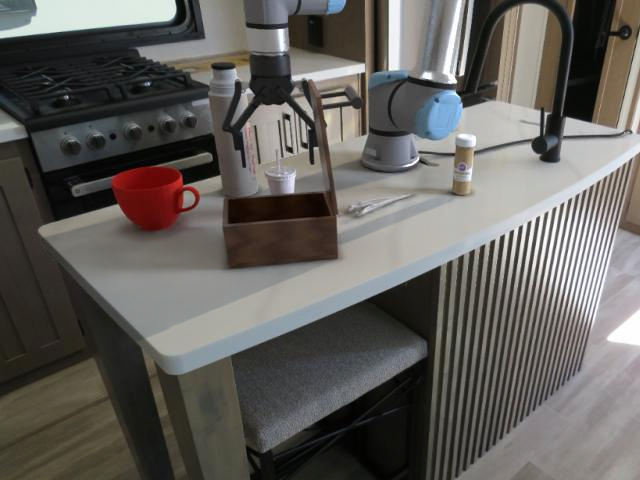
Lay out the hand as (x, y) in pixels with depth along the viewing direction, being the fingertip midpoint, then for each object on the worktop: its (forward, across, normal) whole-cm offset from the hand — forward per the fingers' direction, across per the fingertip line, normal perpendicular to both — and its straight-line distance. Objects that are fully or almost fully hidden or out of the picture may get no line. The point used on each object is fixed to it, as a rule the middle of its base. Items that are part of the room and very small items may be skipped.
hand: (278, 164), depth 115 cm
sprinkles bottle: (+11, -42, -5) cm, 44 cm away
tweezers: (+11, -22, -1) cm, 25 cm away
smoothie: (+11, 0, 0) cm, 11 cm away
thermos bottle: (+11, +9, -15) cm, 21 cm away
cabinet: (+11, +1, +15) cm, 19 cm away
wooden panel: (-8, -7, +15) cm, 19 cm away
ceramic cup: (+12, +24, +1) cm, 26 cm away
